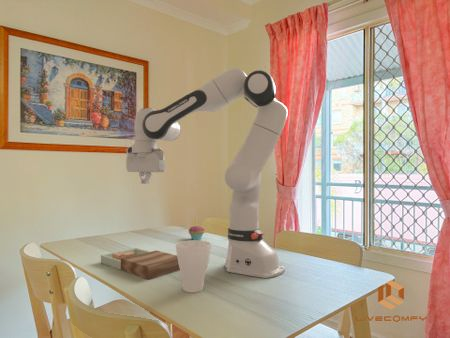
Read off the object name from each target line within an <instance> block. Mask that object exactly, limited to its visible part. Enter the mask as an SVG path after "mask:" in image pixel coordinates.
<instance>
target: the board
mask: <svg viewBox="0 0 450 338" xmlns="http://www.w3.org/2000/svg"><path fill="white" fill-rule="evenodd" d="M120 271H122V272H126V273H127V274H132V275H134V276H136V277H137V276H138V277H141V278H144V279H146V280H152V279H156V278H158V277H161V276H164V275H168V274H171V273H174V272H175V273H176V272H178V271H180V268H179V264H178V258H177V254H176V255H175V254H173V253H167V252H164V251H161V250H160V251H159V250H153V251H150V252H148V253H143V254H139V255H134V256H130V257H126V258H121V270H120Z"/></svg>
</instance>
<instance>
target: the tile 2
mask: <svg viewBox="0 0 450 338" xmlns="http://www.w3.org/2000/svg"><path fill="white" fill-rule="evenodd" d="M134 255H135V253H133V252H127V253H123V254H121V258H126V257H130V256H134Z"/></svg>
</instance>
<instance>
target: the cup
mask: <svg viewBox="0 0 450 338" xmlns="http://www.w3.org/2000/svg"><path fill="white" fill-rule="evenodd" d="M175 248H176V250H175V252H176V255H177V258H178V264H179V268H180V270H179V271H180V277H181V281H182V282H181V283H182V290H183V292H186V293H191V294H193V293H195V294H196V293H200V292H202V291H203V289H204V284H205V283H204V282H205V277H206V273H207V270H208V266H209V262H210V261H209V260H210V255H211V251H212V250H211V249H212V243H211V242H210V241H207V240H192V239H189V240H181V241H179V242H177V243H175Z"/></svg>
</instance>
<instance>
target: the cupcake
mask: <svg viewBox="0 0 450 338" xmlns="http://www.w3.org/2000/svg"><path fill="white" fill-rule="evenodd" d="M205 233H206V231H205V228H204V227H202V226H199V225H198V218H197V217H195V225H194V226H191V227H190V228H189V229H188V234H189V235H190V238H191V240H192V239H193V240H200V239H201V240H202V237H203V235H204V234H205ZM201 240H200V241H201Z"/></svg>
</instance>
